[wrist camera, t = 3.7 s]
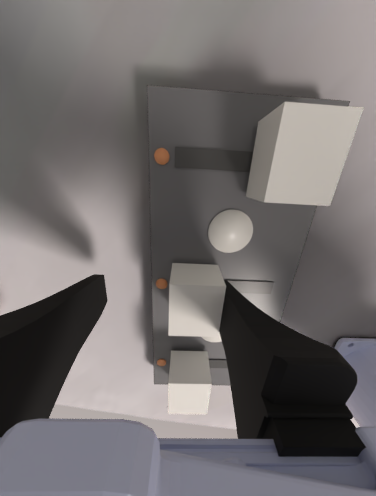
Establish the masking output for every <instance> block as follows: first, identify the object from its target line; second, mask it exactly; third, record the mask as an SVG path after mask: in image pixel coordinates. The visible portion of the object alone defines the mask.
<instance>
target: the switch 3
mask: <svg viewBox="0 0 376 496" xmlns="http://www.w3.org/2000/svg"><path fill="white" fill-rule="evenodd" d="M363 109H364V108H361V107H348V106H335V105H322V104H309V103H297V102H284V103H282V104H281V105H280V106H278V107H277V108H276V109H274V110H273V111H272V112H271V113H269V114H268V115H267V116H265V117H264V118H263V119H261V120H260V121H259V122H258V127H257V133H256V139H255V145H254V151H253V157H252V163H251V168H250V174H249V180H248V186H247V192H246V197H248V198H252V199H255V200H258V201H261V202H266V203H284V204H302V205H320V206H330V204H331V202H332V199H333V196H334V193H335V190H336V187H337V184H338V181H339V178H340V175H341V173H342V170H343V167H344V164H345V161H346V158H347V155H348V152H349V149H350V146H351V144H352V141H353V138H354V135H355V132H356V129H357V126H358V123H359V120H360V117H361V115H362V112H363Z"/></svg>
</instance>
